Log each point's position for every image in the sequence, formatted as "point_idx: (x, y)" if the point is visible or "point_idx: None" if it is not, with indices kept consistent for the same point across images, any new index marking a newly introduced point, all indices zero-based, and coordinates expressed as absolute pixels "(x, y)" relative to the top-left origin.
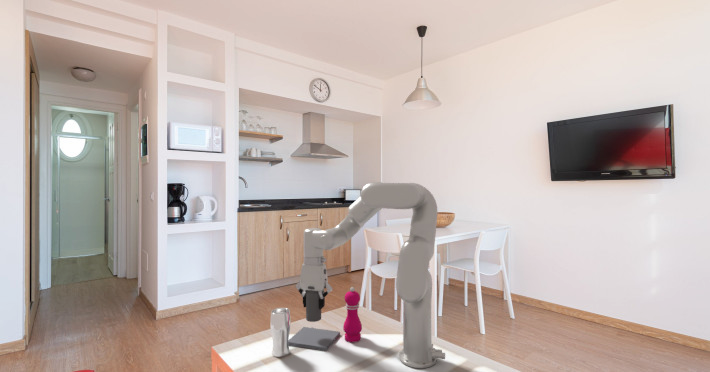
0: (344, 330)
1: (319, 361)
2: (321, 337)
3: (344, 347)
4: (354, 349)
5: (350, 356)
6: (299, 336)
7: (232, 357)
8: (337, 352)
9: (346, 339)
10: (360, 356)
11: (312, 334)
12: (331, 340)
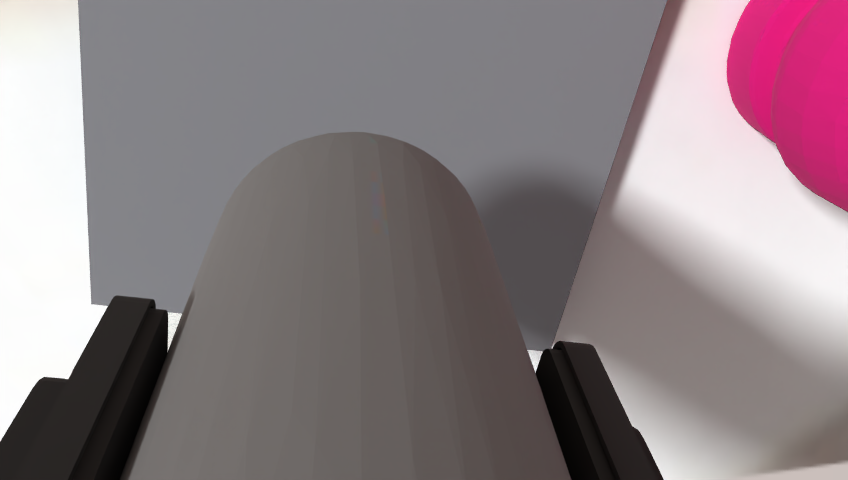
0: (785, 162)
1: None
2: (457, 156)
3: (713, 246)
4: (806, 268)
5: (757, 376)
6: (171, 165)
7: None
8: (646, 337)
9: (752, 124)
10: (840, 364)
11: (318, 90)
12: (586, 210)
